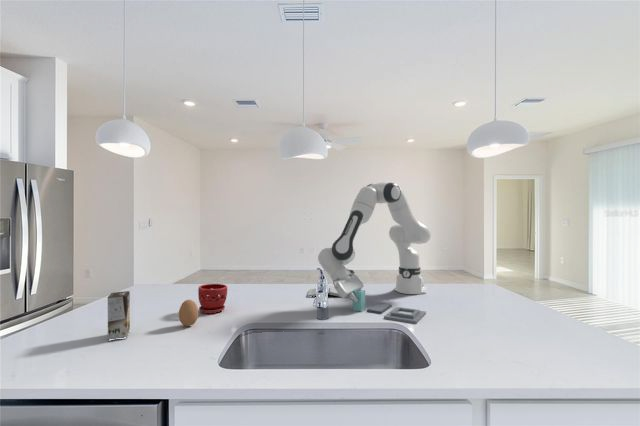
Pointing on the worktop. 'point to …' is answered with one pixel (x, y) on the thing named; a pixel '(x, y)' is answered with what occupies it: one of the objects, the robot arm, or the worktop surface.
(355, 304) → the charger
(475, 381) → the worktop surface
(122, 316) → the coffee box
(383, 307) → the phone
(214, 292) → the plant pot
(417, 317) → the plate
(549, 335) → the worktop surface
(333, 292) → the gadget
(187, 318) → the egg
